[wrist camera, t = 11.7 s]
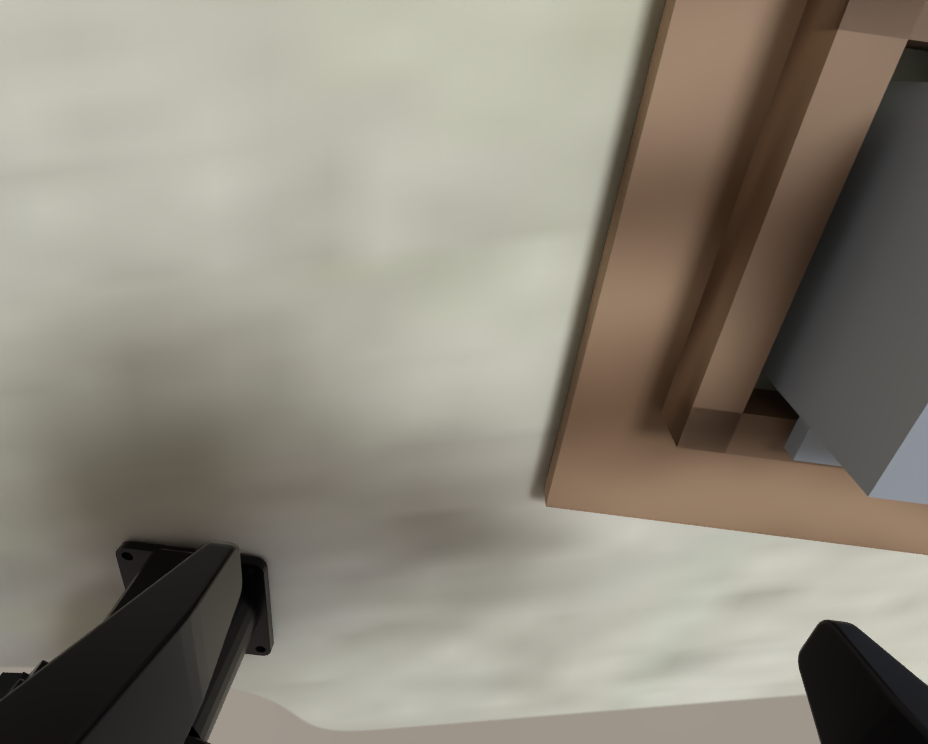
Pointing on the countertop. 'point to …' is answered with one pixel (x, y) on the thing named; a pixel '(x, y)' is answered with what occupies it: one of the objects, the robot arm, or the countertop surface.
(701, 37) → the brown wooden board
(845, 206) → the block
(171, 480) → the countertop surface
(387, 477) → the countertop surface
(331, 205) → the countertop surface
